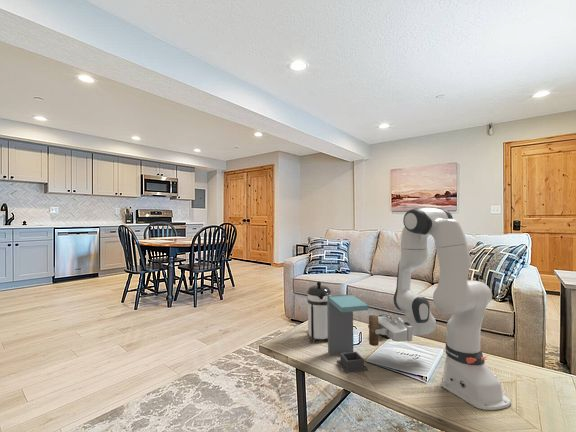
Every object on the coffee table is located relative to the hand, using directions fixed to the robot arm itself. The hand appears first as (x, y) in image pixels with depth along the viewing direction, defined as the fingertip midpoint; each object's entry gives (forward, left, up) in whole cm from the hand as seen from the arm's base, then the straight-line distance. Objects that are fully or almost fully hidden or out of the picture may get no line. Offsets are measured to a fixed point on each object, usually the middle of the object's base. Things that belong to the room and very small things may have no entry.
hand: (371, 329), depth 129 cm
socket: (0, +10, -15) cm, 18 cm away
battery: (+25, -20, -15) cm, 36 cm away
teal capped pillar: (+5, +10, -15) cm, 18 cm away
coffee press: (+32, +15, -15) cm, 38 cm away
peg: (0, -1, -6) cm, 7 cm away
